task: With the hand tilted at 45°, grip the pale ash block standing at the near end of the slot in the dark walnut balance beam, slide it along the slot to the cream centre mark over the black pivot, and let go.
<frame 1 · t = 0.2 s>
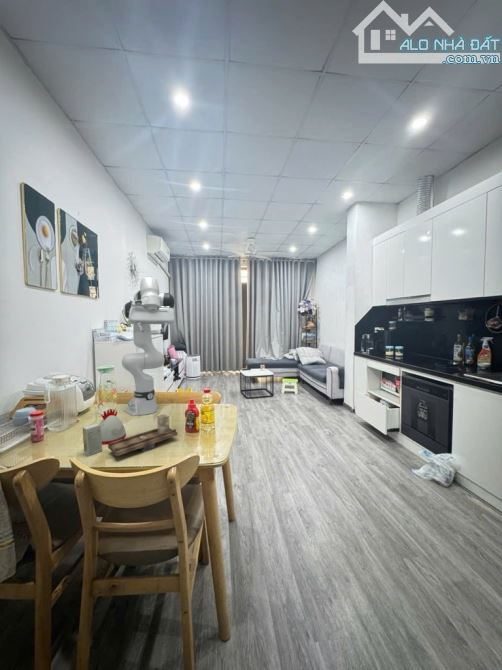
hand: (153, 331, 121), 54 cm above the table, tool tilted 30°, fingers open, 8 cm apart
balance beam: (144, 446, 123), on the table
rider block: (163, 431, 130), point 4 cm above the table, touching balance beam
skincare box: (92, 452, 118), on the table
grey crested helmet: (110, 439, 133), on the table
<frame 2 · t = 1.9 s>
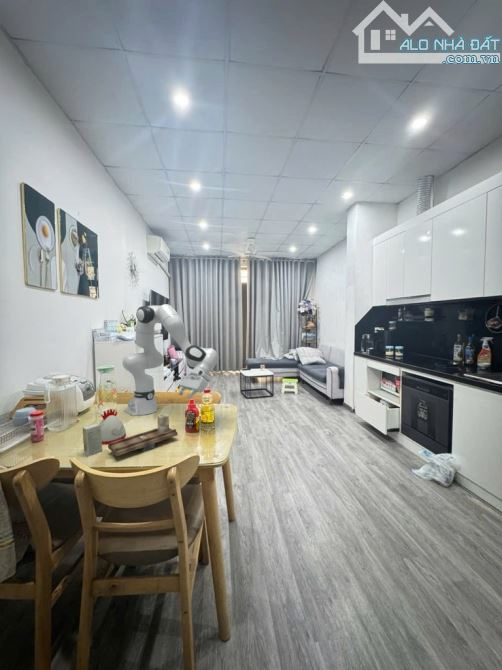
hand: (184, 396, 137), 19 cm above the table, tool tilted 45°, fingers open, 8 cm apart
nothing on the table moved.
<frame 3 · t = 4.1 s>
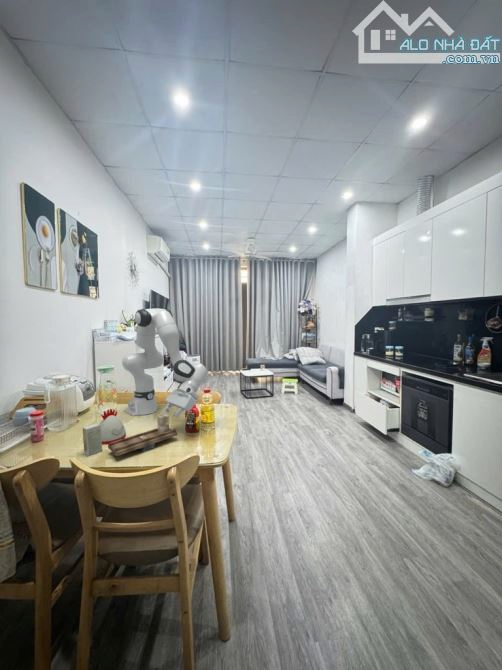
hand: (170, 414, 132), 12 cm above the table, tool tilted 45°, fingers open, 8 cm apart
nothing on the table moved.
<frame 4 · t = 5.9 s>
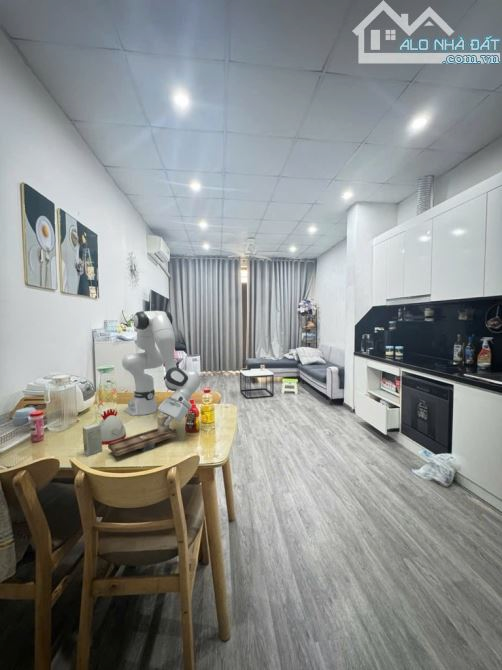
hand: (162, 423, 129), 8 cm above the table, tool tilted 45°, fingers closed on rider block, 4 cm apart
rider block: (163, 431, 130), point 4 cm above the table, touching balance beam, gripper
everything else where it was.
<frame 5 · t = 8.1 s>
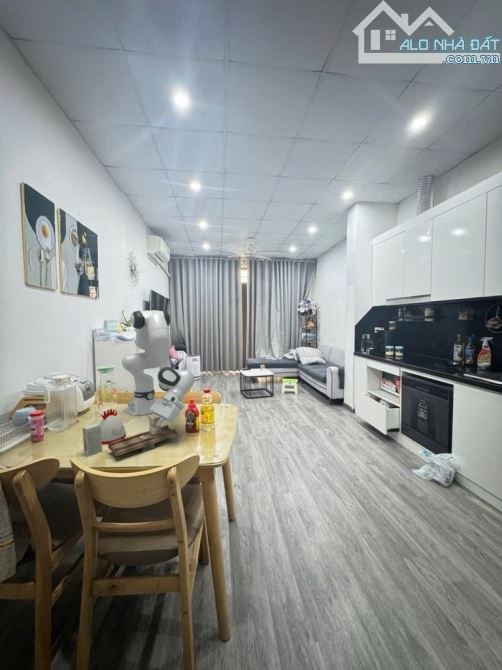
hand: (153, 424, 126), 9 cm above the table, tool tilted 45°, fingers closed on rider block, 4 cm apart
rider block: (155, 432, 127), point 5 cm above the table, touching gripper
everything else where it was.
when the fingers open (9 cm above the table, at t = 10.3 s): rider block stays where it is, resting on balance beam.
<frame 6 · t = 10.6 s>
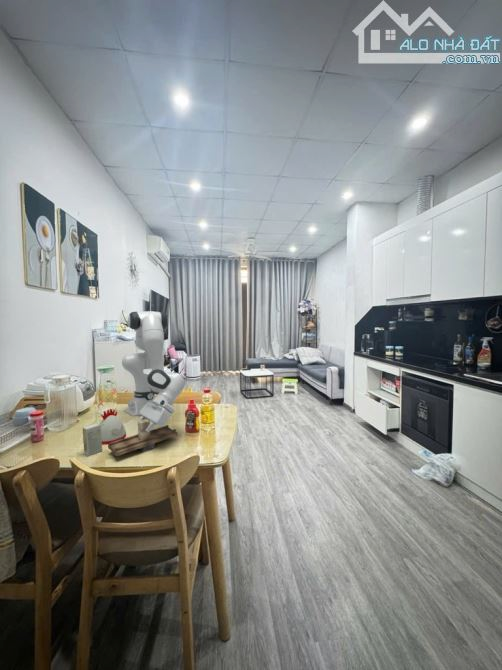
hand: (142, 428, 122), 9 cm above the table, tool tilted 45°, fingers open, 7 cm apart
rider block: (144, 437, 123), point 4 cm above the table, touching balance beam
everything else where it was.
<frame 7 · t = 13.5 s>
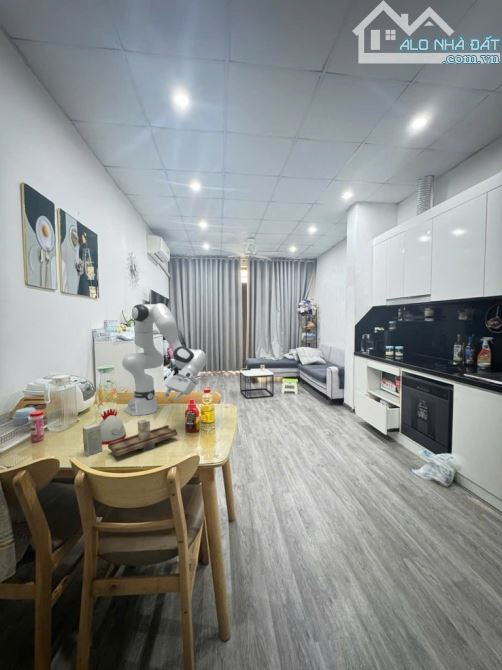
hand: (170, 398, 134), 19 cm above the table, tool tilted 45°, fingers open, 8 cm apart
nothing on the table moved.
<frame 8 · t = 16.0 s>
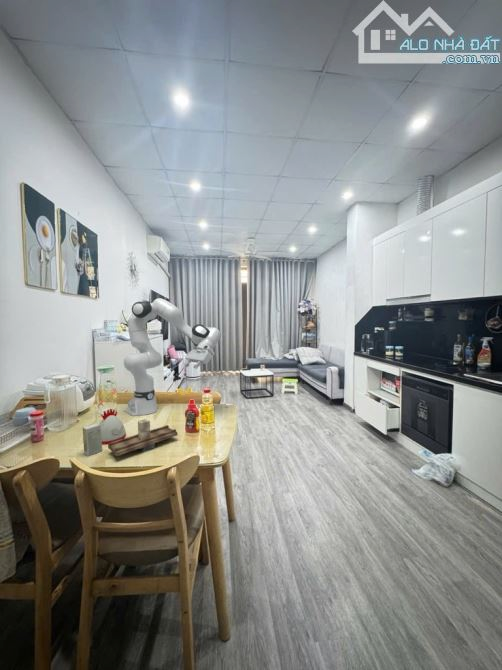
hand: (190, 367, 157), 31 cm above the table, tool tilted 45°, fingers open, 8 cm apart
nothing on the table moved.
at the end: rider block 0.1 cm off-centre on the balance beam, point 4.0 cm above the balance beam's base; rider block tilted 0°; the gripper is holding nothing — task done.
